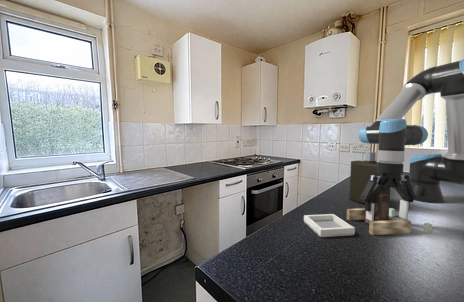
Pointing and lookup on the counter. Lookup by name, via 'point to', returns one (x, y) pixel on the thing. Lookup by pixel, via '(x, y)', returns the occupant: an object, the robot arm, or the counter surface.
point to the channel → (380, 223)
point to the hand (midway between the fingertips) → (386, 218)
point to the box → (380, 208)
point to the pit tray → (329, 225)
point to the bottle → (363, 176)
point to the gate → (427, 226)
